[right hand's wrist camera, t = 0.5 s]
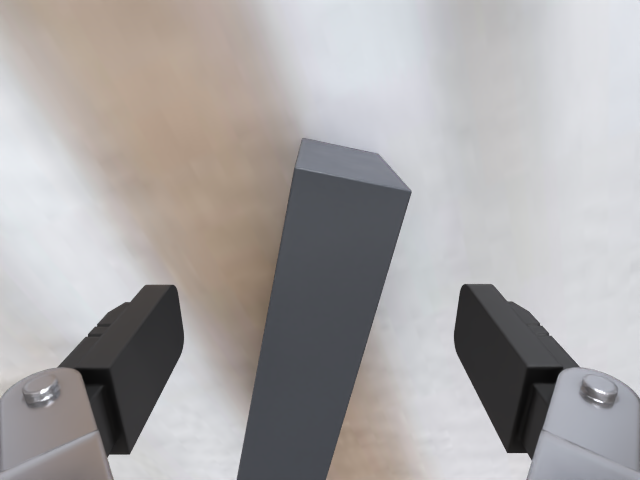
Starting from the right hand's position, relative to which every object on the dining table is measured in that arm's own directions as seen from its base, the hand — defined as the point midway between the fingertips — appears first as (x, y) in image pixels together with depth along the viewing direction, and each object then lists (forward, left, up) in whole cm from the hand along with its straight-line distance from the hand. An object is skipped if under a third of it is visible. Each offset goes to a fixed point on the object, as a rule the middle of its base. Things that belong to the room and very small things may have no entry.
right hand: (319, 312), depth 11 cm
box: (+1, +10, -20) cm, 22 cm away
